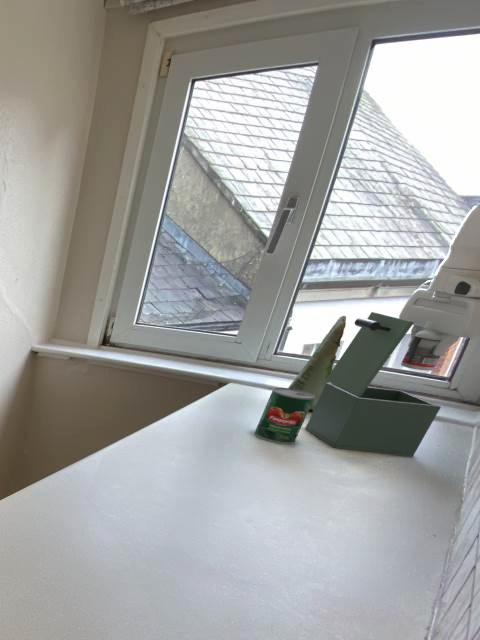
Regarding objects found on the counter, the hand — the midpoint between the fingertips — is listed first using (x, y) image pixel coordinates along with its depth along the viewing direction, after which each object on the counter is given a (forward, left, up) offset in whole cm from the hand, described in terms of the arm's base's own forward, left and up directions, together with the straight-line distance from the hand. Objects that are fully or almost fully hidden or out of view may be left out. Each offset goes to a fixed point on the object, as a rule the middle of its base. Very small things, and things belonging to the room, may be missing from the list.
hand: (425, 351), depth 118 cm
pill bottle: (0, 0, -4) cm, 4 cm away
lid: (+10, 0, -2) cm, 10 cm away
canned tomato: (+23, +4, -22) cm, 32 cm away
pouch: (+3, -27, -22) cm, 35 cm away
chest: (+4, 0, -22) cm, 22 cm away
